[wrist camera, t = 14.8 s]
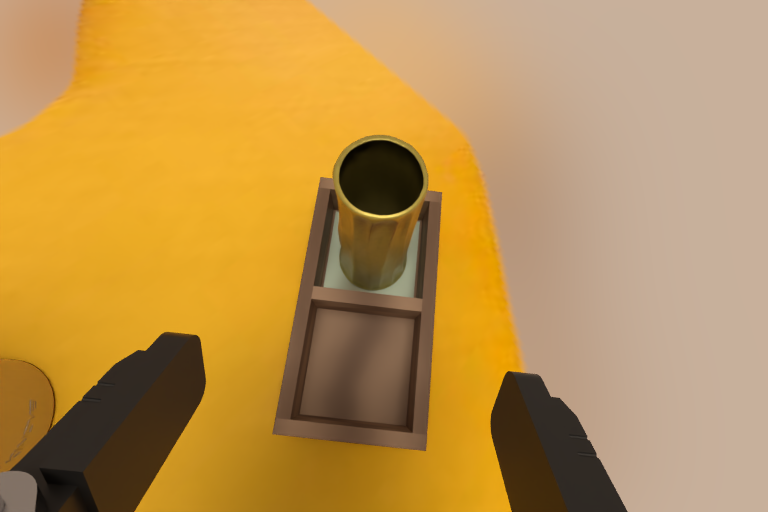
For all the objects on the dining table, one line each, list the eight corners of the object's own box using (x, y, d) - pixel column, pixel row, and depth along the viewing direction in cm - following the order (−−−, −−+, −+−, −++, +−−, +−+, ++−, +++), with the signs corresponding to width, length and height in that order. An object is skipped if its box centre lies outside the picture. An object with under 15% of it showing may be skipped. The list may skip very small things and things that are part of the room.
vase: (383, 216, 34) (398, 111, 21) (419, 269, 33) (460, 193, 19) (327, 247, 33) (303, 157, 19) (361, 303, 31) (361, 249, 18)
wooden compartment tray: (287, 424, 29) (272, 434, 24) (326, 204, 36) (320, 177, 31) (415, 438, 30) (425, 450, 25) (430, 217, 36) (441, 192, 31)
